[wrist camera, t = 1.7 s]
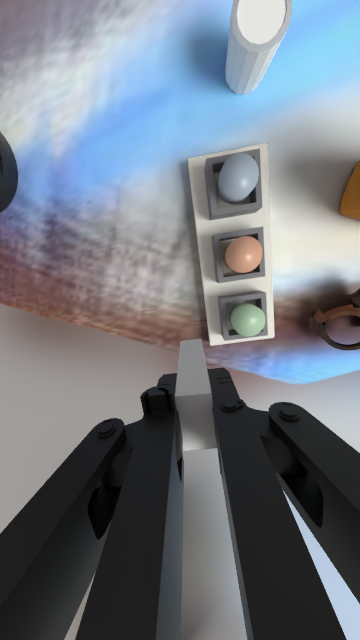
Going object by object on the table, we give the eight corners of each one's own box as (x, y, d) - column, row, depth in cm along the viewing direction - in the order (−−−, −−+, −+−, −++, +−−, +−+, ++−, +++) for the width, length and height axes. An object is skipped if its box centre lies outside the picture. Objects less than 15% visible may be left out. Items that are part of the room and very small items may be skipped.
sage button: (227, 304, 33) (231, 308, 30) (257, 300, 33) (264, 303, 30) (230, 332, 35) (234, 338, 32) (259, 328, 34) (266, 334, 31)
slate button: (215, 168, 28) (218, 157, 26) (250, 161, 28) (257, 149, 25) (218, 206, 30) (222, 200, 27) (252, 200, 29) (259, 193, 26)
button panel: (187, 164, 32) (188, 146, 28) (262, 150, 32) (276, 129, 27) (209, 341, 40) (212, 352, 35) (270, 334, 39) (281, 343, 34)
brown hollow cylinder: (358, 339, 39) (368, 363, 33) (305, 324, 43) (305, 343, 37) (395, 281, 34) (416, 296, 27) (330, 270, 37) (335, 280, 31)
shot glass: (232, 31, 28) (247, -44, 21) (276, 52, 29) (304, -15, 22) (213, 89, 30) (221, 36, 23) (255, 108, 30) (274, 62, 23)
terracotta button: (221, 241, 31) (225, 239, 28) (254, 236, 31) (261, 233, 28) (224, 274, 32) (228, 275, 29) (256, 269, 32) (263, 269, 29)
